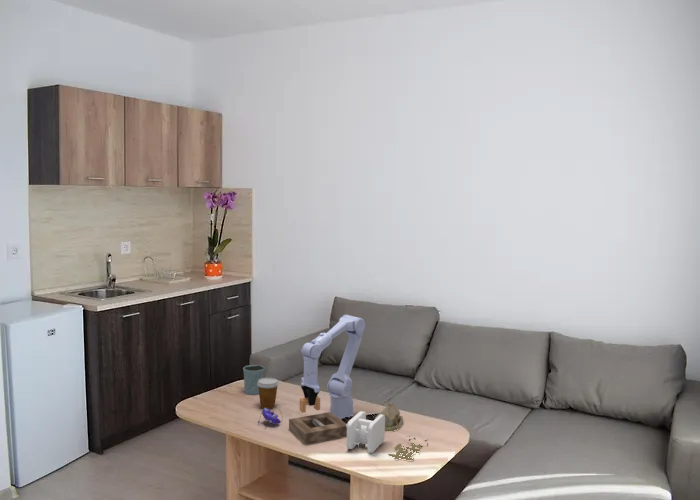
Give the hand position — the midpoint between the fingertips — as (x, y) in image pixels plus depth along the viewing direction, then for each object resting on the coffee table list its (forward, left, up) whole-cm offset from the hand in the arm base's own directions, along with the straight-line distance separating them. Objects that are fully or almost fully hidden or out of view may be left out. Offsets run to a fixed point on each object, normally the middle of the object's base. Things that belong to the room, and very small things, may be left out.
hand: (310, 403), depth 254 cm
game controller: (+15, -9, -10) cm, 20 cm away
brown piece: (0, +8, -9) cm, 12 cm away
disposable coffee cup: (+8, -28, -10) cm, 30 cm away
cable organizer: (-11, +27, -10) cm, 31 cm away
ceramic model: (-30, +14, -10) cm, 35 cm away
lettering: (-26, +36, -10) cm, 46 cm away
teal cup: (+7, -49, -10) cm, 50 cm away
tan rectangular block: (0, 0, -3) cm, 3 cm away
